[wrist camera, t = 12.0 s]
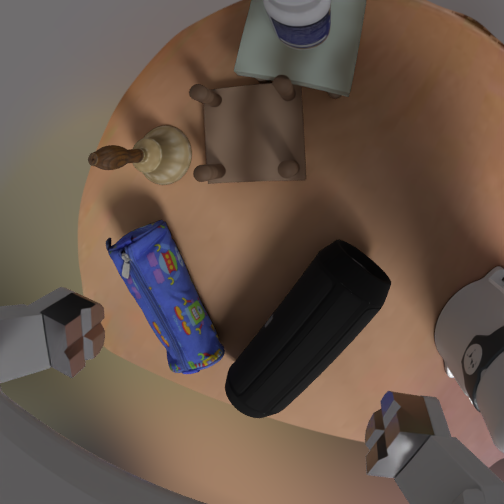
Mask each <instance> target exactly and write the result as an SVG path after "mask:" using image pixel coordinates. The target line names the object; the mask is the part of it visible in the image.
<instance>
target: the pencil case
mask: <svg viewBox="0 0 504 504" xmlns="http://www.w3.org/2000/svg"><path fill="white" fill-rule="evenodd" d="M106 248H107V250H108V252H109V255H110V257H111V259H112V260H113V262H114V264H115V266H116V268H117V270H118V272H119V274H120V276H121V278H122V279H123V280H124V282H125V284H126V286H127V287H128V289H129V291H130V293H131V294H132V295H133V297H134V298H135V300H136V302H137V303H138V305H139V306H140V308H141V309H142V311H143V313H144V315H145V317H146V319H147V321H148V323H149V324H150V326H151V328H152V329H153V331H154V333H155V334H156V336H157V337H158V339H159V340H160V341H161V343H162V344H163V345H164V346H165V348H166V350H167V359H168V364H169V367H170V369H171V371H173V372H175V373H183V374H192V373H196V372H199V371H200V370H202V369H205V368H208V367H210V366H212V365H214V364H215V363H217V362H218V361H220V360H221V359H222V357H223V356H224V353H225V350H224V347H223V345H222V344H221V343H220V342H219V339H218V335H217V332H216V330H215V328H214V326H213V324H212V322H211V320H210V318H209V316H208V314H207V312H206V310H205V309H204V307H203V305H202V302H201V301H200V298H199V296H198V294H197V291H196V289H195V287H194V285H193V282H192V280H191V278H190V276H189V274H188V271H187V268H186V266H185V264H184V261H183V259H182V257H181V255H180V253H179V251H178V249H177V247H176V244H175V242H174V241H173V239H172V238H171V233H170V231H169V230H168V227H167V224H166V222H164V221H163V220H159V221H157V222H156V223H152V224H148V225H146V226H143V227H140V228H138V229H135V230H133V231H131V232H130V233H128V234H126V235H125V236H123V237H122V238H121V239H120V240H119V241H118V242H117V243H116V244H114V245H112V246H111V238H108V239H107V241H106Z"/></svg>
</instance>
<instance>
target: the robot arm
mask: <svg viewBox="0 0 504 504" xmlns="http://www.w3.org/2000/svg"><path fill="white" fill-rule="evenodd" d="M503 277H504V268H502V267H500V266H497V267H495V268H494V269H492V270H491V271H490V272H489V273H488V274H487V275H486V276H485V277H484V278H482V279H480V280H478V281H475V282H473V283H471V284H469V285H467V286H465V287H463V288H462V289H461V290H459V291H458V292H457V293H456V294H455V295H454V296H453V297H452V298H451V299H450V300H449V301H448V302H447V304H446V305H445V307H444V308H443V310H442V312H441V314H440V316H439V318H438V321H437V324H436V328H435V344H436V347H437V350H438V352H439V354H440V355H441V356H442V358H443V359H444V362H445V371H446V374H447V375H448V376H449V377H450V378H455V379H456V381H457V383H458V384H459V386H460V387H461V389H462V390H463V392H464V393H465V395H467V396H468V397H469V399H470V401H471V403H472V404H473V405H474V407H475V408H476V409H477V411H479V412H480V413H481V414H482V417H483V419H484V421H485V423H486V426H487V428H488V430H489V433H490V435H491V438H492V440H493V443H494V445H495V446H496V447H497V448H498V449H499V450H500V451H501V452H503V453H504V279H503V280H502V278H503ZM103 319H104V307H103V306H102V305H101V304H100V303H97V302H95V301H93V300H91V299H89V298H87V297H84V296H82V295H80V294H78V293H75V292H74V291H71V290H69V289H67V288H64V287H60V288H58V289H56V290H54V291H53V292H51V293H49V294H47V295H45V296H44V297H42V298H40V299H38V300H37V301H35V302H33V303H31V304H30V305H28V306H26V305H25V304H21V305H12V306H1V307H0V383H3V382H6V381H9V380H13V379H16V378H19V377H22V376H26V375H29V374H32V373H35V372H39V371H42V370H45V369H48V368H50V366H51V367H53V368H55V369H56V370H58V371H60V372H62V373H64V374H66V375H67V376H69V377H71V378H73V377H74V376H75V375H76V374H77V373H78V372H79V371H81V369H83V368H84V367H85V360H88V359H93V358H95V357H96V355H98V354H99V353H100V351H101V348H102V347H103V345H104V340H105V330H104V328H103V326H102V324H101V321H102V320H103ZM365 444H366V446H367V447H368V448H369V449H370V452H369V453H368V454H367V455H366V469H367V475H372V476H380V477H390V478H395V479H394V480H395V482H396V483H397V485H398V486H399V488H400V489H401V491H402V492H403V494H404V496H405V497H406V499H407V500H408V502H409V503H410V504H504V482H502V481H501V480H500V479H499V478H498V477H497V476H496V475H495V474H494V473H493V472H492V471H491V470H490V469H489V468H488V467H487V466H486V465H484V464H483V463H482V462H481V461H480V460H479V459H478V458H477V457H476V456H475V455H474V454H473V453H472V452H471V451H470V450H469V449H467V448H466V447H465V446H464V445H463V444H462V443H461V442H460V441H459V440H458V439H457V438H456V437H451V434H450V431H449V428H448V425H447V422H446V419H445V416H444V413H443V410H442V408H441V405H440V402H439V400H438V399H437V398H436V397H430V396H417V395H411V394H404V393H398V392H392V391H388V392H387V393H386V394H385V395H384V397H383V398H382V400H381V409H380V410H378V411H376V412H374V413H373V415H372V417H371V419H370V420H369V422H368V426H367V429H366V434H365ZM0 504H206V503H203V502H200V501H197V500H195V499H192V498H189V497H186V496H183V495H181V494H178V493H175V492H173V491H170V490H168V489H165V488H163V487H160V486H158V485H155V484H153V483H151V482H149V481H146V480H144V479H142V478H140V477H137V476H135V475H133V474H131V473H129V472H127V471H125V470H123V469H121V468H119V467H117V466H115V465H113V464H111V463H109V462H107V461H105V460H103V459H101V458H99V457H98V456H96V455H94V454H92V453H90V452H89V451H87V450H85V449H83V448H82V447H80V446H78V445H77V444H75V443H73V442H72V441H70V440H69V439H67V438H65V437H64V436H62V435H60V434H59V433H57V432H56V431H54V430H53V429H51V428H50V427H48V426H47V425H46V424H44V423H43V422H41V421H40V420H38V419H37V418H36V417H34V416H33V415H31V414H30V413H29V412H27V411H26V410H24V409H23V408H22V407H21V406H19V405H18V404H17V403H15V402H14V401H13V400H12V399H10V398H9V397H8V396H7V395H5V394H4V393H3V392H2V389H1V386H0Z"/></svg>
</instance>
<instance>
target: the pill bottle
mask: <svg viewBox="0 0 504 504" xmlns="http://www.w3.org/2000/svg"><path fill="white" fill-rule="evenodd" d="M263 3H264V7H265V10H266V12H267V14H268V16H269V19H270V21H271V23H272V26H273V29H274V31H275V33H276V35H277V37H278V38H279V40H280V41H281V42H282V43H283V44H285V45H286V46H288V47H290V48H293V49H297V50H310V49H313V48H316V47H318V46H320V45H321V44H323V43H324V42H325V41H326V39H327V38H328V36H329V33H330V26H331V0H263Z"/></svg>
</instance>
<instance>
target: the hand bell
mask: <svg viewBox="0 0 504 504" xmlns="http://www.w3.org/2000/svg"><path fill="white" fill-rule="evenodd" d="M191 157H192V150H191V145H190V142H189V140H188V138H187V137H186V135H185V134H184V133H183V132H182V131H181V130H179V129H178V128H176V127H173V126H159V127H157V128H154V129H153V130H151V131H150V132H149V133H148V134H147V135H146V136H145V137H144V138H143V139H141V140H139V141H138V142H137V143H136V144H135V145H134V147H133V149H131V150H127V149H125V148H123V147H120V146H115V145H111V146H105V147H102V148H100V149H99V150H97V151H96V152H93V153H91V154H90V156H89V158H88V161H89V164H90V165H91V166H96V167H98V168H100V169H103V170H114V169H118V168H120V167H123V166H124V165H126V164H127V163H133V165H134V167H135V168H136V169H137V170H138V171H140V172H143V174H144V175H145V176H146V178H148V179H149V180H150V181H152V182H153V183H156V184H159V185H168V184H172V183H174V182H176V181H178V180H179V179H181V178H182V177H183V176H184V174H185V173H186V172H187V170H188V168H189V166H190V163H191Z"/></svg>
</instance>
